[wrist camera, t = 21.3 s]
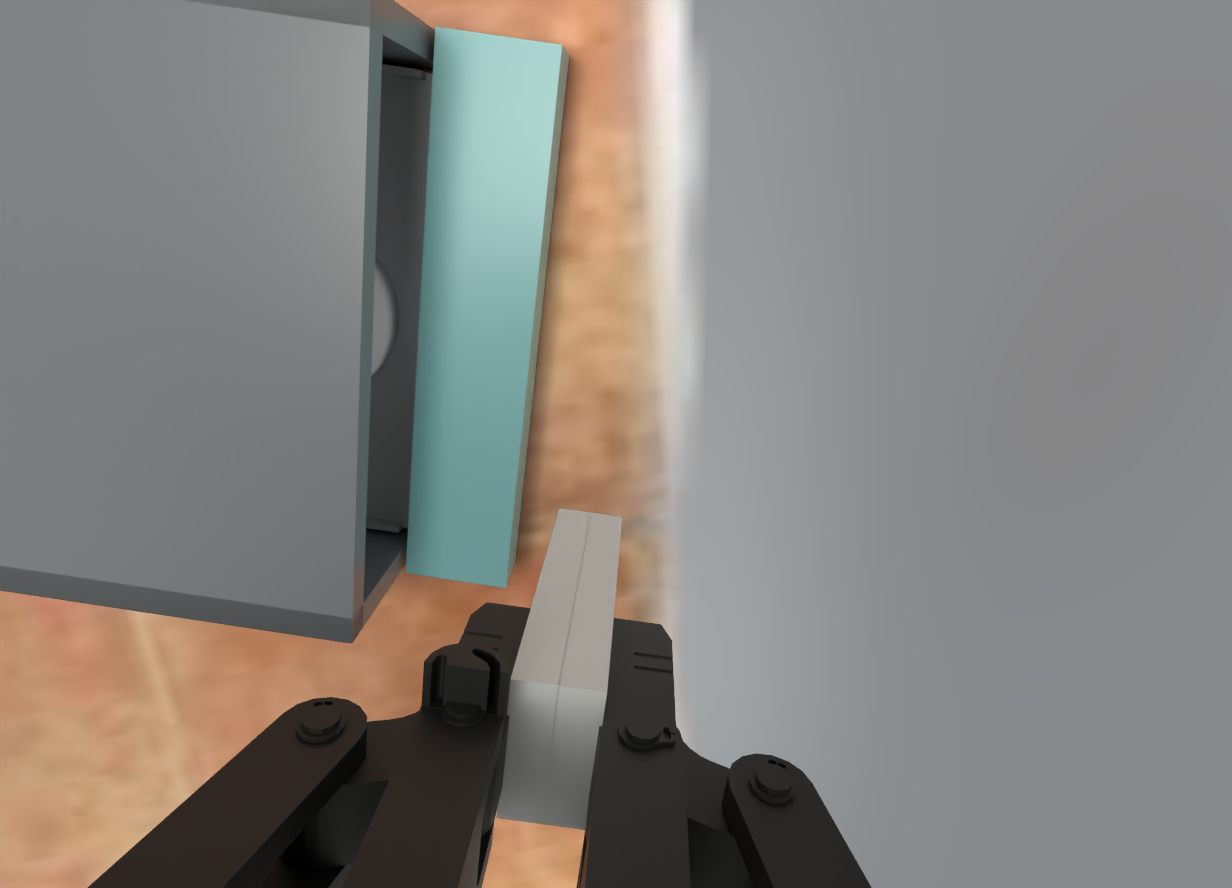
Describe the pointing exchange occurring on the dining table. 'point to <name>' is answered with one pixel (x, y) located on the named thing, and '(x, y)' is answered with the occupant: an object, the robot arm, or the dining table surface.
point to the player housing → (193, 305)
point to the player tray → (463, 295)
